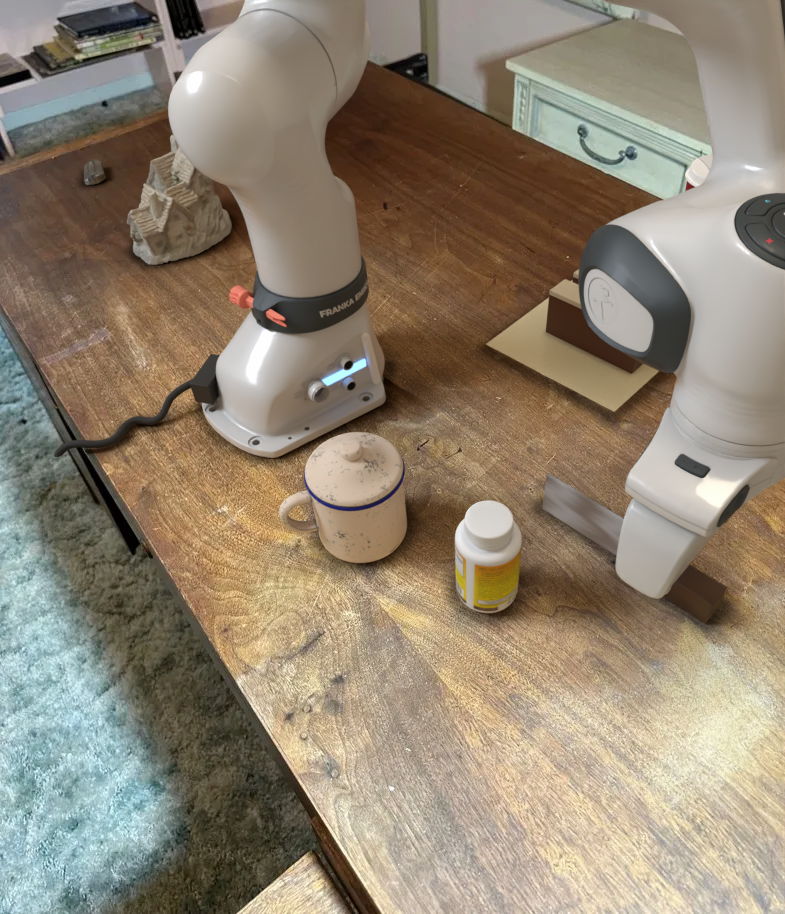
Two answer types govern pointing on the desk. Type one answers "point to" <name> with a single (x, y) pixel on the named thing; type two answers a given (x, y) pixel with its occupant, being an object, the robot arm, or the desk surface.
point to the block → (93, 172)
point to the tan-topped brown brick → (580, 327)
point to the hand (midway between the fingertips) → (691, 548)
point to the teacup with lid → (353, 497)
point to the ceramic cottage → (176, 211)
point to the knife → (604, 528)
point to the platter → (568, 361)
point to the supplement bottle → (487, 557)
